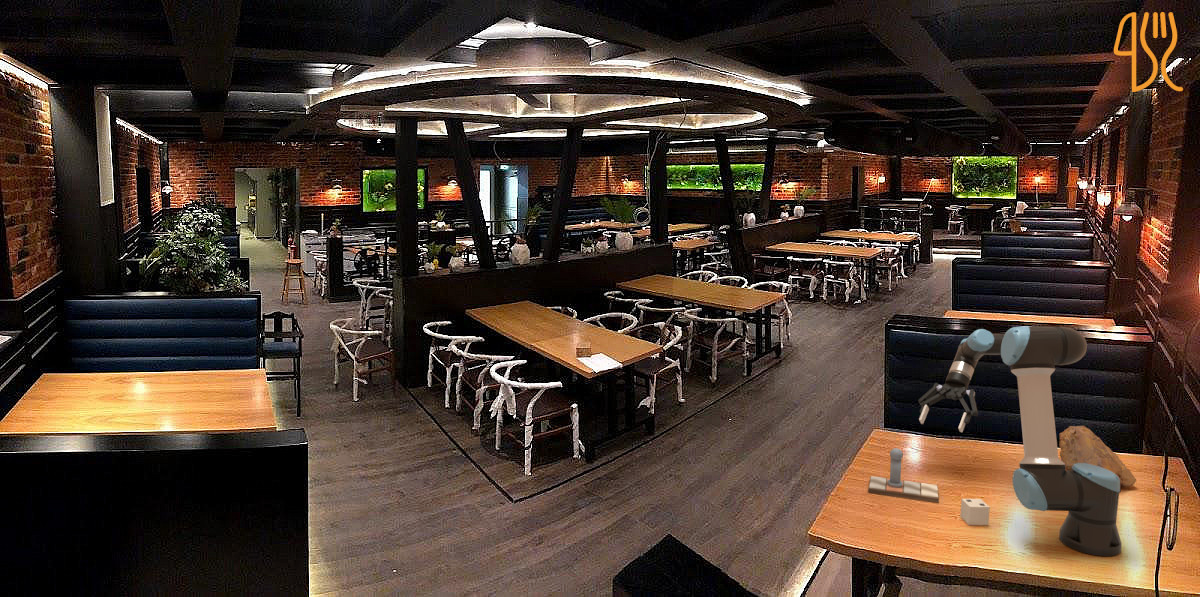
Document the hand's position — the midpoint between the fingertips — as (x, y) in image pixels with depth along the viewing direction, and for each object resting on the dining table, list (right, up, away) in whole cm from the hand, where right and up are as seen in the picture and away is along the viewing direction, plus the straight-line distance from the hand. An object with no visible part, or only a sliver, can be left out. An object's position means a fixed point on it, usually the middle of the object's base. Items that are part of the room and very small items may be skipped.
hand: (940, 426), depth 257 cm
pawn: (-18, -20, -5) cm, 27 cm away
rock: (+58, -19, +6) cm, 61 cm away
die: (-2, -25, -28) cm, 38 cm away
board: (-15, -22, -5) cm, 27 cm away
